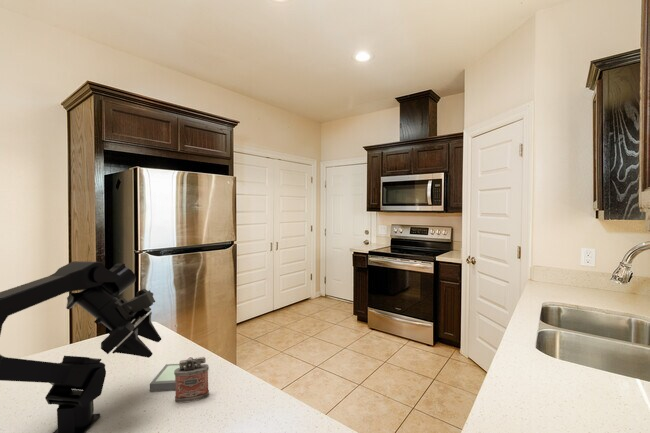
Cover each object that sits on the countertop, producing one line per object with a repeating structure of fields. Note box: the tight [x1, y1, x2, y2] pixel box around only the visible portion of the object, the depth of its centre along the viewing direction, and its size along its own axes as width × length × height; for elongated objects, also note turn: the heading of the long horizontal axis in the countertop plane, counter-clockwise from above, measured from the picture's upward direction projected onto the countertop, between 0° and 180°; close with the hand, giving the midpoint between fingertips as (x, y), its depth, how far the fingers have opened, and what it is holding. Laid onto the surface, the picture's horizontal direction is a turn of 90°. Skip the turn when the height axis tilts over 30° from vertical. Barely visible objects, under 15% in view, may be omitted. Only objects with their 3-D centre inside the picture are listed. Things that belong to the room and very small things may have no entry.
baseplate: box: [149, 363, 197, 392], centre depth 86 cm, size 10×10×2 cm
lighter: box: [174, 356, 210, 403], centre depth 78 cm, size 8×3×10 cm, turn 105°
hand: (155, 347), depth 76 cm, fingers open, 9 cm apart
